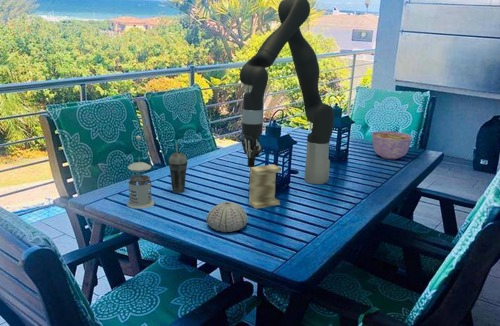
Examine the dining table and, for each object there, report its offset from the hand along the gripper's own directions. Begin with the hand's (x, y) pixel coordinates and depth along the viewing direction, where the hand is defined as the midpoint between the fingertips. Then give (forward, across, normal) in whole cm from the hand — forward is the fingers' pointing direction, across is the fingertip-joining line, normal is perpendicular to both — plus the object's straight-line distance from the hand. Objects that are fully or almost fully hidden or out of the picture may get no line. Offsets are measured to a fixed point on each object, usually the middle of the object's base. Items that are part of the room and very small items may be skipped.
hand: (250, 166), depth 179 cm
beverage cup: (+12, +16, +23) cm, 30 cm away
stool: (+12, -11, 0) cm, 16 cm away
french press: (+12, +10, +40) cm, 43 cm away
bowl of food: (+12, +20, -93) cm, 96 cm away
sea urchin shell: (+12, -22, +21) cm, 33 cm away
